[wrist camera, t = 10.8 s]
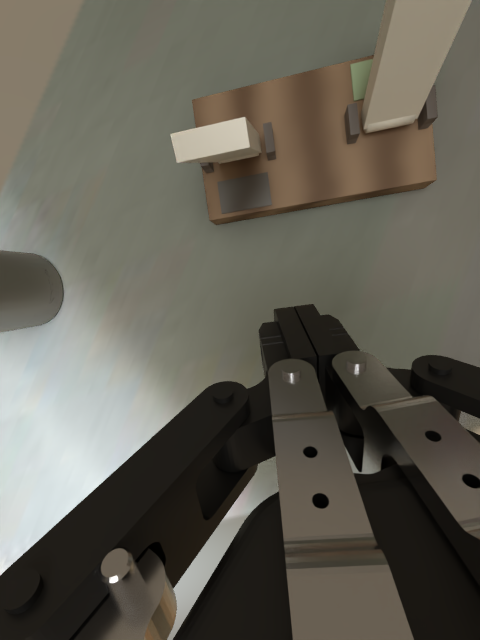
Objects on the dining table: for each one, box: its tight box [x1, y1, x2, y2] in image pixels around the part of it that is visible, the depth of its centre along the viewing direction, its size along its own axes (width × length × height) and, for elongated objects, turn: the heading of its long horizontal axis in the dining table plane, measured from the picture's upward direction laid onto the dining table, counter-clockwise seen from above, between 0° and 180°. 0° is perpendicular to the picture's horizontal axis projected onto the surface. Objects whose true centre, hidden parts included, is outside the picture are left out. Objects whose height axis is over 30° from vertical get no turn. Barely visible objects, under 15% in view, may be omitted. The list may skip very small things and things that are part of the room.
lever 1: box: [170, 117, 262, 164], centre depth 27 cm, size 5×2×15 cm, turn 98°
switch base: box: [192, 55, 438, 225], centre depth 33 cm, size 22×12×5 cm, turn 98°
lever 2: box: [361, 0, 472, 133], centre depth 24 cm, size 5×2×15 cm, turn 98°
